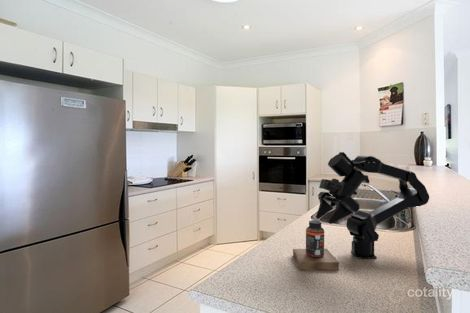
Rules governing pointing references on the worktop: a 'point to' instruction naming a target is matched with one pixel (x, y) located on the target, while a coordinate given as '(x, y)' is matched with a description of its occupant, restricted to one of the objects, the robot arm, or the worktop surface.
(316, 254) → the supplement bottle
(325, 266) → the walnut plinth
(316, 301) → the worktop surface
